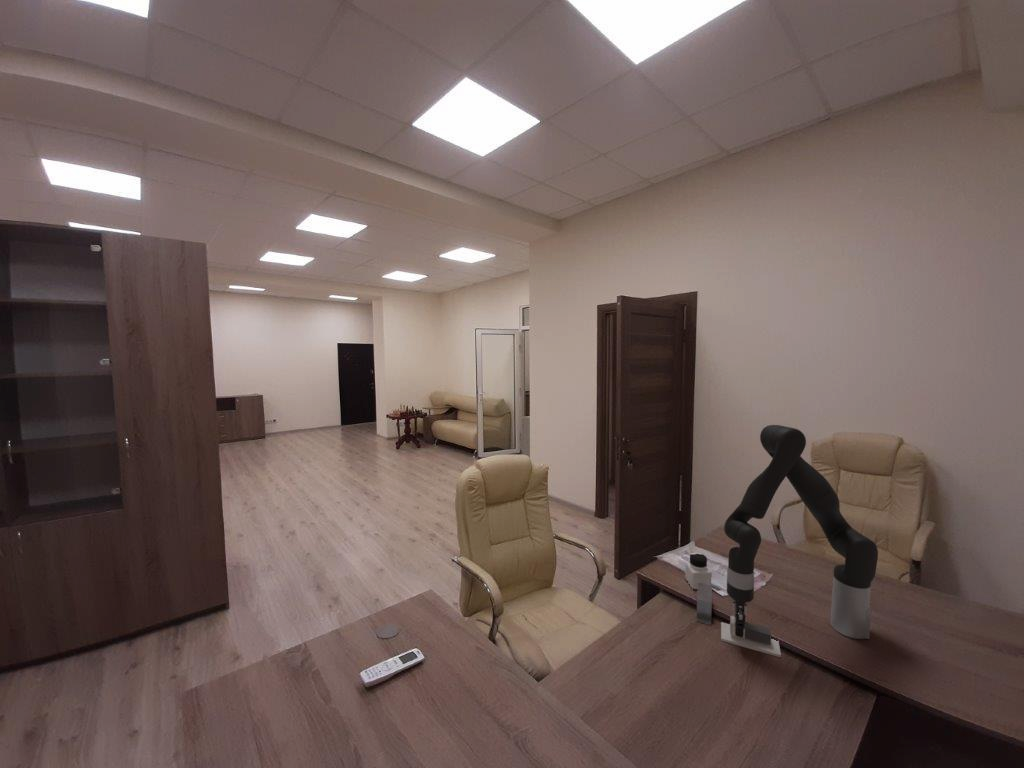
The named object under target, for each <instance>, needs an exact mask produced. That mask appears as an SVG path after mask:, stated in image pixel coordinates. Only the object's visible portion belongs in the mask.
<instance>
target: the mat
mask: <svg viewBox="0 0 1024 768" xmlns="http://www.w3.org/2000/svg"><path fill="white" fill-rule="evenodd" d="M720 640H721V642H725V643H729V644H732V645H735V646H739V647H742V648H746V649H750V650H753V651H757V652H760V653H764V654H767V655H771V656H774V657H777V658H782V653H781V648H780V643H779V640H778V641H776V640H774V639H771V645H769V644H766V643H762V642H759V641H755V640H752V639H748V638H742V637H738V636H735V635H732V634H731V633H730V623H727V622H722V621H721V622H720Z"/></svg>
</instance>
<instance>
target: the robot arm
mask: <svg viewBox="0 0 1024 768" xmlns="http://www.w3.org/2000/svg"><path fill="white" fill-rule="evenodd" d="M759 439H760V443H761V445H762V447H763V449H764V451H766V452H767V454H768V455H769V456H770V457H771V458H772V459H771V461H770V462H769V464H768V466H767V467H766V468H764V470H763V471H762V472H761V473H760V474H759V475H757V476H756V478H755V479H753V480H752V481H751V483H750V484H748V487H747V488H746V490H745V493H744V495H743V497H742V500H741V502H740V503H739V505H738V506H737V507H736V508H735V509H734V511H732V512H731V514H730V515H729V516H728V518H726V520H725V522H724V527H723V531H724V534H725V536H727V537H728V538H729V539H730V540H732V541H734V543H737V544H738V545H739V546H735V547H734V546H733V547H731V548H730V549H729V551H728V562H727V564H728V566H727V571H726V573H727V575H726V593H727V595H728V596H729V597H730V598H731V599H732V608H733V616H734V617H735V635H736V636H738V637H743V630H744V629H745V622H746V620H747V611H748V604H747V603H750V602H752V601H753V600H754V598H755V571H754V570H755V558H756V556H757V554H758V551H759V548H760V546H761V543H762V536H761V533H760V531H759V530H758V529H757V528H756V526H753V525H752V524H750V523H748V522H749V521H750V520H752V518H753V519H758V520H763V519H764V518H765V516H766V513H767V511H768V510H769V507H770V505H771V503H772V501H773V499H774V496H775V494H776V492H777V491H778V489H779V487H780V486H781V485H782V482H783V481H784V480H785V478H787V479H788V482H789V483H790V484H791V486H792V487H793V488H794V490H795V492H796V493H797V495H798V496H799V498H800V500H801V501H802V502H803V504H804V505H805V507H806V509H808V511H809V512H810V513H811V514H812V516H813V517H814V519H815V520H816V521H817V522H818V524H819V526H820V527H821V530H822V531H823V533H824V535H825V537H826V539H827V541H828V543H829V545H830V546H831V548H832V549H833V550H834V551H835V552H836V553H837V554H839V555H840V556H841V557H843V558H844V564H837V565H836V566H834V568H833V576H832V593H831V606H830V620H829V621H830V626H831V627H832V628H833V629H834V630H835V631H836V632H837V633H839V634H841V635H843V636H845V637H847V638H851V639H856V640H863V639H867V640H870V635H871V622H872V610H871V608H870V602H871V600H870V599H871V587H872V582H873V580H874V578H875V577H876V571H877V565H878V559H879V551H878V546H877V544H876V543H875V542H874V541H873V540H872V539H871V538H868V536H865V535H864V534H862V533H860V532H859V531H857V530H856V529H854V528H853V527H852V526H851V525H850V523H848V522H847V520H846V519H845V518H844V516H843V515H842V513H841V509H840V507H841V506H840V505H841V504H840V499H839V497H838V495H837V492H836V491H835V489H834V488H833V486H832V485H831V484H830V483H829V481H828V480H827V478H826V477H825V476H823V474H821V473H820V472H819V471H818V470H817V469H816V468H815V467H813V466H812V465H811V464H810V463H809V462H808V461H806V460H805V459H804V458H803V457H802V454H803V452H804V450H805V448H806V446H807V439H806V436H805V434H804V433H803V432H802V431H801V430H799V429H798V428H795V427H791V426H784V425H780V424H770V425H766V426H765V427H763V428H762V430H761V431H760V434H759Z"/></svg>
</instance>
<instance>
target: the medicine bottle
mask: <svg viewBox="0 0 1024 768" xmlns="http://www.w3.org/2000/svg"><path fill="white" fill-rule="evenodd" d="M684 567H685V571H684V572H685V573H684V574H685V575H684V578H685V580H686V582H687V581H688V582H687V583H688V584H690V585H689V586H690V588H691V587H692V588H696V589H697V588H698V583H702V584H706V585H711V586H712V571H711V570H710V569H709V567H708V558H707V556H706V555H705V554H703V553H701V552H692V553H690V555H689V562H688V561H687V562H685V566H684ZM692 588H691V589H692ZM697 590H698V589H697Z"/></svg>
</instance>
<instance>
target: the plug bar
mask: <svg viewBox="0 0 1024 768" xmlns="http://www.w3.org/2000/svg"><path fill="white" fill-rule="evenodd" d="M729 621H730V622H729V624H730V633H731V634H732V635H735V617H734V615H730V619H729ZM771 635H772V632H771V628H769V627H766V626H763V625H757V624H754V623H751V622H746V621H745V629H744V630H743V637H742V638H748V639H752V640H755V641H759V642H762V643H766V644H769V645H771ZM735 636H736V635H735Z"/></svg>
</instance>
